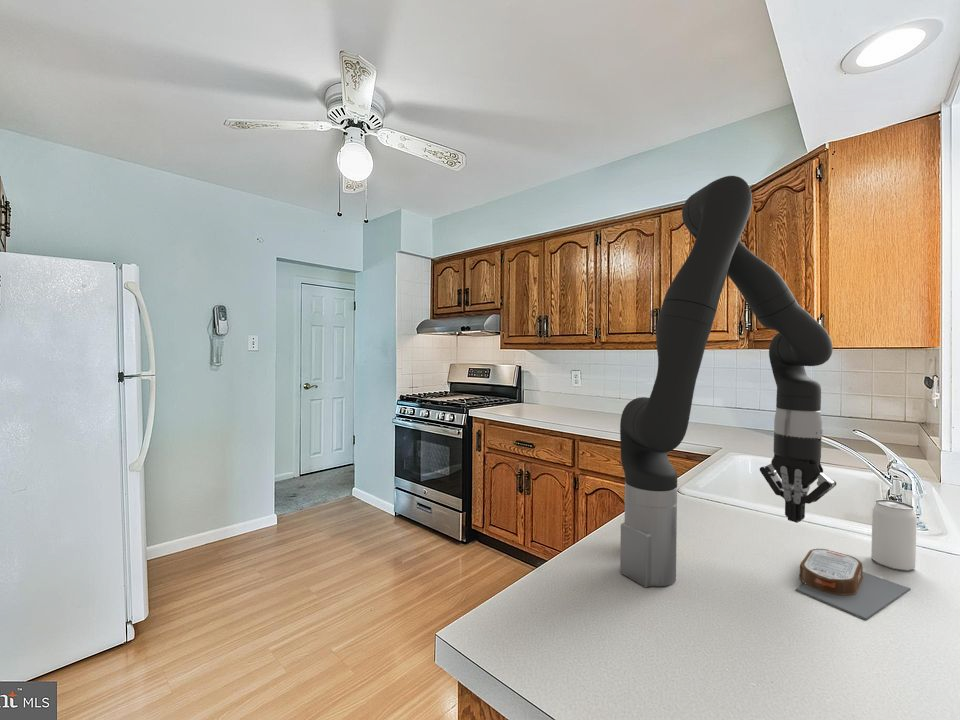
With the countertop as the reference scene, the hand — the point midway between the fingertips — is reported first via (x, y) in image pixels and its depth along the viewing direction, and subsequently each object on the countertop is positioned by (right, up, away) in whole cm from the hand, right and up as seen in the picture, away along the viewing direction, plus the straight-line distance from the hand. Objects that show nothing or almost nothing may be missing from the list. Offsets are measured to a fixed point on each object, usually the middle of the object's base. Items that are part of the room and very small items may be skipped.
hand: (794, 520), depth 87 cm
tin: (+1, -7, -1) cm, 8 cm away
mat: (+5, -9, -8) cm, 13 cm away
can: (+21, -10, +2) cm, 23 cm away
